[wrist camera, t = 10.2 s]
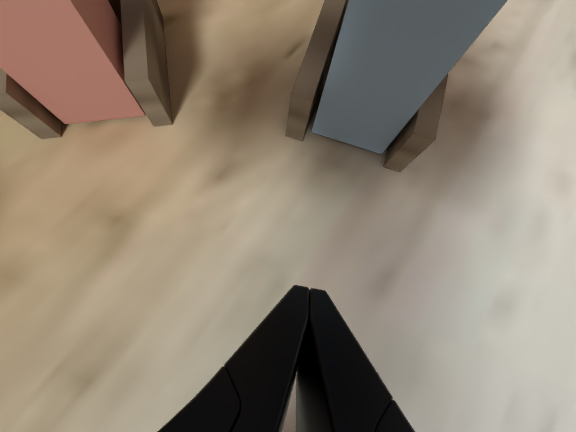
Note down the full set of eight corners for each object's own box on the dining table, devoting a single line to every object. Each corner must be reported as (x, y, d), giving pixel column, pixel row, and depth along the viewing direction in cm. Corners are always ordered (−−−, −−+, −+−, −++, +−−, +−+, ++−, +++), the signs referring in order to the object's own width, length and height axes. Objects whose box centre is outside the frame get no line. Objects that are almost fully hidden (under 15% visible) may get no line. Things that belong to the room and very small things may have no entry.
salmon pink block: (145, 115, 21) (-8, -118, 9) (65, 124, 20) (-208, -113, 8) (141, 64, 22) (0, -205, 10) (64, 71, 21) (-180, -206, 9)
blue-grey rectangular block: (381, 154, 21) (522, -19, 10) (311, 131, 21) (368, -67, 10) (393, 105, 22) (534, -103, 11) (326, 84, 22) (394, -147, 11)
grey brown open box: (400, 172, 21) (435, 139, 17) (285, 135, 21) (291, 94, 17) (423, 67, 24) (459, 15, 19) (320, 34, 24) (333, -24, 19)
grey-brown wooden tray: (172, 124, 21) (148, 79, 17) (41, 138, 20) (-21, 95, 16) (162, 16, 23) (138, -49, 19) (43, 25, 22) (-11, -42, 18)
